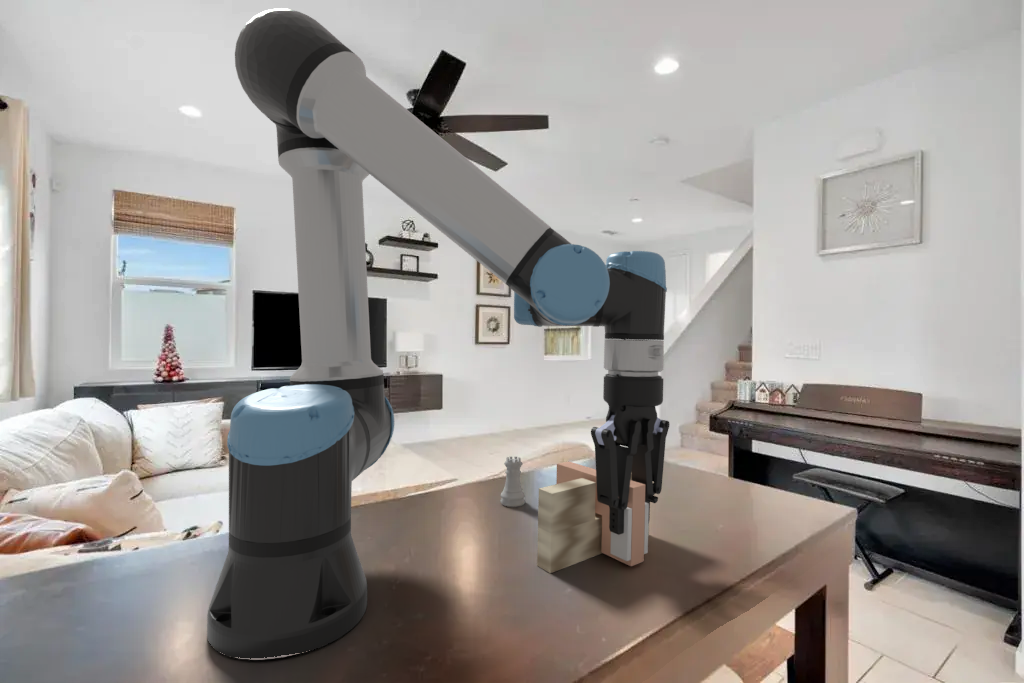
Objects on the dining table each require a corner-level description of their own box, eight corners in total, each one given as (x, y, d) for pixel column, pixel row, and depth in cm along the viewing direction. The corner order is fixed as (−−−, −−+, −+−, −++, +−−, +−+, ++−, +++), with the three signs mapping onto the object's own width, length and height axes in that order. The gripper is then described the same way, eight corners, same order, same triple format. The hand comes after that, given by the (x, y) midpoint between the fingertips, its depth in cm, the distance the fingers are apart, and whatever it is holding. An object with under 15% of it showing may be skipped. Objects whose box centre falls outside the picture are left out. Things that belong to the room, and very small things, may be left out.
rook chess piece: (530, 502, 88) (530, 457, 88) (516, 509, 84) (517, 462, 84) (508, 497, 90) (509, 453, 90) (494, 504, 86) (495, 458, 86)
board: (550, 573, 62) (551, 493, 62) (537, 565, 64) (538, 488, 64) (649, 535, 74) (650, 468, 74) (635, 529, 76) (636, 465, 76)
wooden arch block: (643, 561, 64) (645, 484, 64) (631, 566, 63) (633, 487, 63) (567, 526, 75) (568, 461, 75) (555, 530, 74) (556, 463, 74)
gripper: (615, 378, 56) (611, 582, 57) (693, 373, 66) (689, 547, 67) (569, 373, 62) (565, 558, 63) (646, 369, 72) (643, 529, 73)
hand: (629, 552), depth 65 cm, fingers open, 3 cm apart
